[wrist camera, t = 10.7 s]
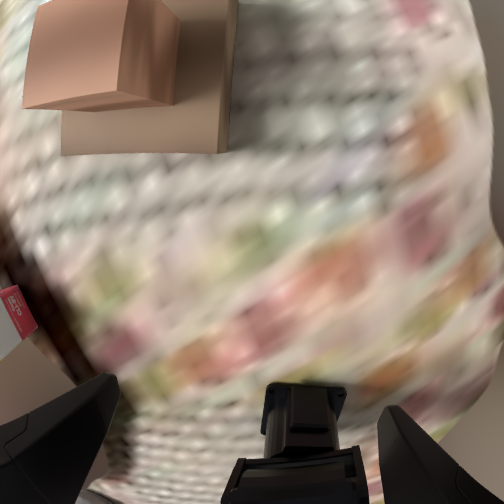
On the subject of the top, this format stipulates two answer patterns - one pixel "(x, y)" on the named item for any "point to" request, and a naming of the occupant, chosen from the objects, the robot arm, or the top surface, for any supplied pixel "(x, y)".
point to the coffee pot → (91, 498)
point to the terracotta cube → (101, 55)
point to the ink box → (14, 320)
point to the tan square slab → (185, 95)
